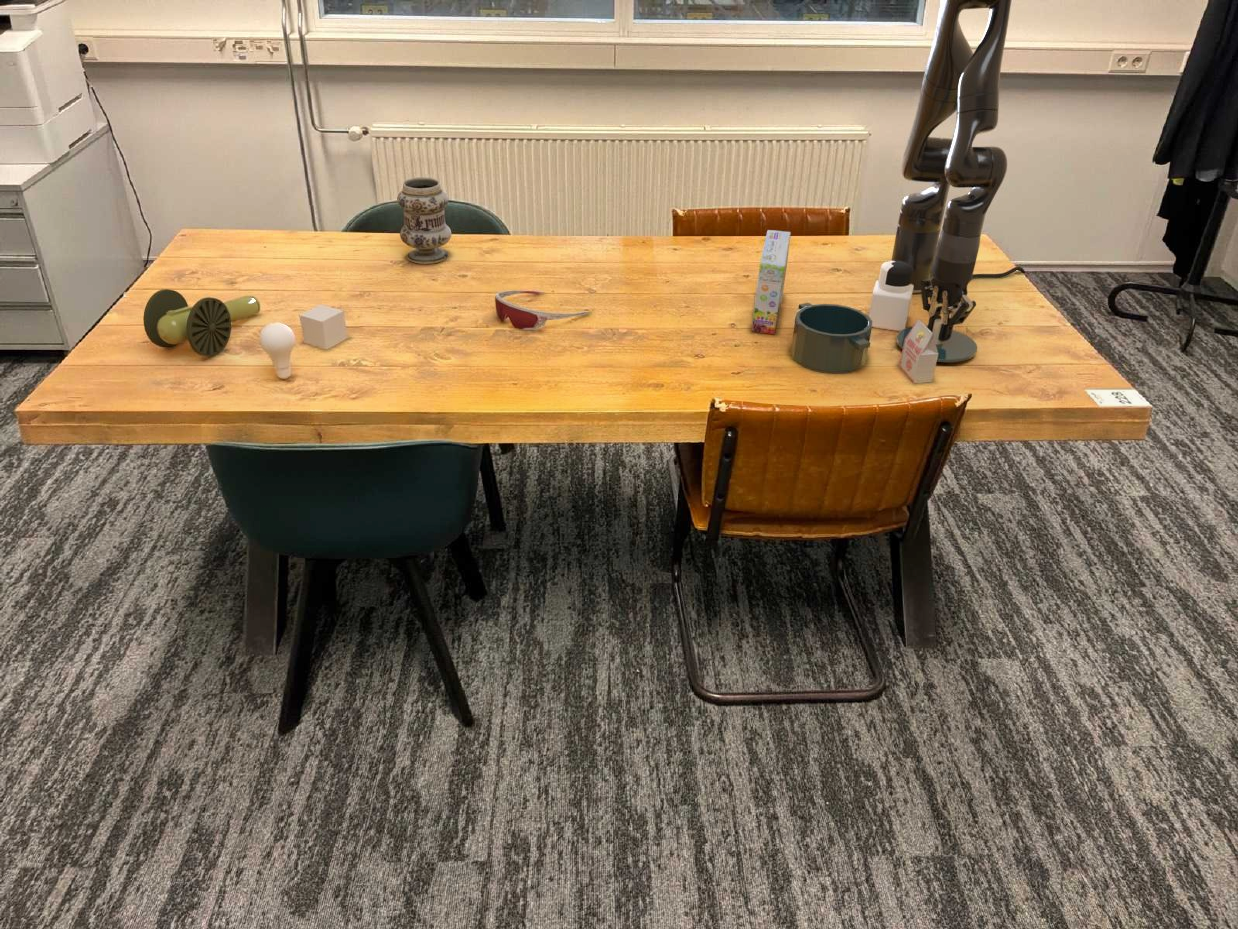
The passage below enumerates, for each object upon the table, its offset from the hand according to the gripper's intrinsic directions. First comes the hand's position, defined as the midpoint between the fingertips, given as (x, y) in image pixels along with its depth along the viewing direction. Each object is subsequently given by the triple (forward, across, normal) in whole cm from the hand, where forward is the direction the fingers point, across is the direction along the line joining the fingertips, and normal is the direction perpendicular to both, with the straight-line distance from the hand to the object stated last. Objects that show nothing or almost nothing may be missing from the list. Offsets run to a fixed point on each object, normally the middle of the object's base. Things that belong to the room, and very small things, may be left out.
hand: (937, 336), depth 189 cm
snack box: (+3, +28, +22) cm, 36 cm away
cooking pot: (+3, +6, +22) cm, 23 cm away
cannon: (+3, +62, +131) cm, 145 cm away
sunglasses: (+3, +47, +68) cm, 83 cm away
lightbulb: (+3, +39, +121) cm, 127 cm away
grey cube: (+3, +52, +111) cm, 123 cm away
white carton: (+3, -7, +11) cm, 13 cm away
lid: (+2, 0, 0) cm, 2 cm away
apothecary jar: (+3, +88, +80) cm, 119 cm away
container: (+3, +14, +1) cm, 14 cm away
